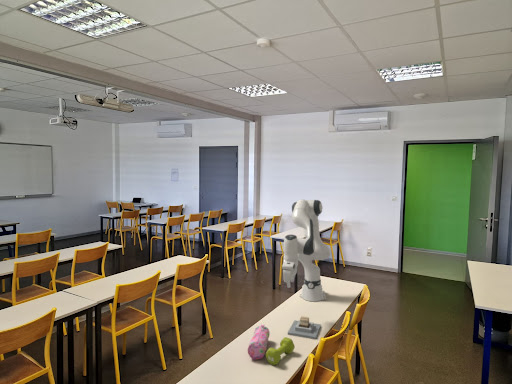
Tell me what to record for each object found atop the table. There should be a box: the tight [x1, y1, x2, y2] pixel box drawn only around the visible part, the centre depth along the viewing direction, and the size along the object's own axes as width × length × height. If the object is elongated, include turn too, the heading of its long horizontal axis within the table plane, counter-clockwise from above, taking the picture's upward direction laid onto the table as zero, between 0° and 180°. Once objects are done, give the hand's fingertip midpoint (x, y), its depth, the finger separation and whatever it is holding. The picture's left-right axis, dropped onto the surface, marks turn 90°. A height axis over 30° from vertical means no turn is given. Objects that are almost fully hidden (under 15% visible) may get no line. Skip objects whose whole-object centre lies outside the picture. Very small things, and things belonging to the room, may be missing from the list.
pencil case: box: [247, 324, 270, 361], centre depth 169 cm, size 21×9×9 cm, turn 169°
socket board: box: [287, 320, 322, 340], centre depth 189 cm, size 16×16×3 cm
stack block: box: [299, 315, 310, 328], centre depth 189 cm, size 4×4×6 cm
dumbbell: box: [265, 336, 295, 366], centre depth 161 cm, size 16×8×7 cm, turn 141°
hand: (290, 284), depth 196 cm, fingers open, 8 cm apart
